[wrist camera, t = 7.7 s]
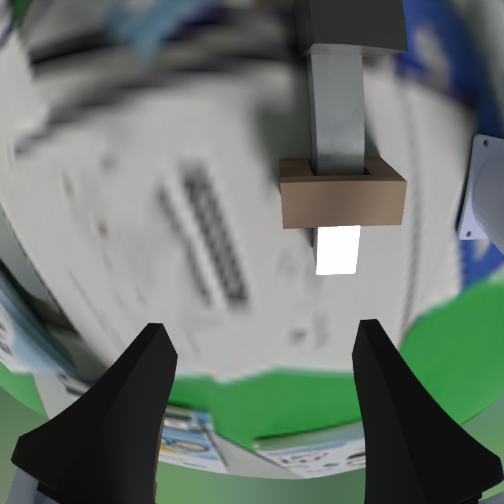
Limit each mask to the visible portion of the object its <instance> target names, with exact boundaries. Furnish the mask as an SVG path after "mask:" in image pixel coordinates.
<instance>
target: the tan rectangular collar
mask: <svg viewBox="0 0 504 504" xmlns="http://www.w3.org/2000/svg"><path fill="white" fill-rule="evenodd" d="M279 160H280V187H281V202H282V217H283V229H293V228H317V227H344V226H377V225H401V222H402V216H403V209H404V202H405V194H406V186H407V181H406V180H405V179H404V178H403V177H402V176H401V175H400V174H399V173H397V172H396V171H395V170H394V169H393V168H392V167H391V166H390V165H389V164H388V163H386V162H385V161H384V160H383V159H382V158H364V173H363V175H334V176H313V174H312V171H311V168H310V165H309V163H308V160H307V158H299V159H279Z"/></svg>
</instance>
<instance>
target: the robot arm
mask: <svg viewBox="0 0 504 504" xmlns="http://www.w3.org/2000/svg"><path fill="white" fill-rule="evenodd" d="M485 140H486V143H485V145H484V141H485ZM468 231H469V232H468ZM467 232H468V233H467ZM457 236H458V237H459V238H460V239H461V240H467V239H490V240H491V241H492V242H493V243H494V244H495V246H496V247H497V248H498V249H499V250H500V251H501V252H502V254H503V255H504V139H500V138H496V137H491V136H487V135H482V134H477V135H475V137H474V140H473V149H472V157H471V165H470V171H469V178H468V184H467V189H466V195H465V200H464V205H463V209H462V214H461V218H460V222H459V226H458V230H457ZM177 358H178V355H177V353H176V351H175V349H174V347H173V345H172V342H171V340H170V338H169V336H168V334H167V332H166V330H165V327H164V325H163V324H161V323H148V324H147V326H146V327H145V328H144V329H143V330H142V331H141V332H140V334H139V335H138V336H137V337H136V338H135V339H134V341H133V342H132V343H131V344H130V345H129V347H128V348H127V349H126V350H125V351H124V352H123V354H122V355H121V356H120V357H119V358H118V359H117V361H116V362H115V363H114V364H113V365H112V366H111V367H110V368H109V369H108V371H107V372H106V373H105V374H104V375H103V376H102V377H101V378H100V379H99V380H98V381H97V382H96V383H95V384H94V385H93V386H92V387H91V388H90V389H89V390H88V391H87V392H86V393H85V394H83V395H82V396H81V397H80V398H79V399H78V400H77V401H75V402H74V403H73V404H72V405H70V406H69V407H68V408H66V409H65V410H64V411H62V412H61V413H60V414H58V415H57V416H56V417H54V418H53V419H51V420H50V421H48V422H46V423H45V424H43V425H41V426H40V427H38V428H36V429H34V430H32V431H30V432H28V433H26V434H24V435H22V436H20V437H19V439H18V441H17V444H16V447H15V450H14V452H13V455H12V458H11V461H12V463H13V464H15V465H16V466H17V467H19V468H17V470H16V472H15V476H14V479H13V482H12V485H11V489H10V492H9V496H8V499H7V503H6V504H154V502H153V485H154V467H155V457H156V449H157V442H158V436H159V431H160V426H161V423H162V419H163V416H164V412H165V409H166V405H167V402H168V399H169V395H170V392H171V388H172V385H173V381H174V377H175V371H176V365H177ZM352 360H353V371H354V380H355V385H356V390H357V395H358V400H359V406H360V411H361V416H362V422H363V428H364V435H365V453H366V484H365V501H364V504H504V491H502V492H500V493H498V494H496V495H494V496H491V497H489V498H487V499H483V500H480V501H478V500H479V499H481V498H482V492H484V491H486V490H488V489H490V488H492V487H494V486H496V485H497V484H499V483H501V482H502V481H503V480H504V474H503V468H502V463H501V460H500V458H499V457H498V456H497V455H495V454H494V453H492V452H491V451H489V450H488V449H487V448H485V447H484V446H483V445H481V444H480V443H479V442H478V441H476V440H475V439H474V438H473V437H471V436H470V435H469V434H468V433H467V432H466V431H465V430H464V429H463V428H462V427H460V426H459V425H458V424H457V423H456V422H455V421H454V420H453V419H452V418H451V417H450V416H449V415H448V414H447V413H446V412H445V411H444V410H443V409H442V408H441V407H440V405H439V404H438V403H437V402H436V401H435V400H434V399H433V398H432V396H431V395H430V394H429V393H428V392H427V390H426V389H425V388H424V387H423V385H422V384H421V383H420V381H419V380H418V379H417V378H416V376H415V375H414V373H413V372H412V371H411V369H410V368H409V367H408V365H407V364H406V362H405V361H404V359H403V358H402V357H401V355H400V354H399V352H398V351H397V349H396V348H395V346H394V345H393V343H392V342H391V340H390V339H389V337H388V335H387V334H386V332H385V331H384V329H383V327H382V326H381V324H380V323H379V321H378V320H377V319H369V320H360V323H359V328H358V332H357V336H356V340H355V344H354V348H353V352H352Z"/></svg>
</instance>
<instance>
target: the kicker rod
mask: <svg viewBox="0 0 504 504" xmlns="http://www.w3.org/2000/svg"><path fill="white" fill-rule="evenodd" d="M292 10H293V18H294V26H295V34H296V43H297V52H298V59H306V65H307V76H308V88H309V102H310V118H311V136H312V161H313V176H334V175H363V173H364V87H363V69H362V59H363V58H368V57H374V56H380V55H387V54H394V53H402V52H408V45H407V35H406V26H405V18H404V11H403V5H402V0H294V2H293V6H292ZM359 231H360V226H344V227H317V228H313V254H314V260H315V266H316V272H317V274H338V273H355V266H356V258H357V250H358V241H359Z"/></svg>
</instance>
